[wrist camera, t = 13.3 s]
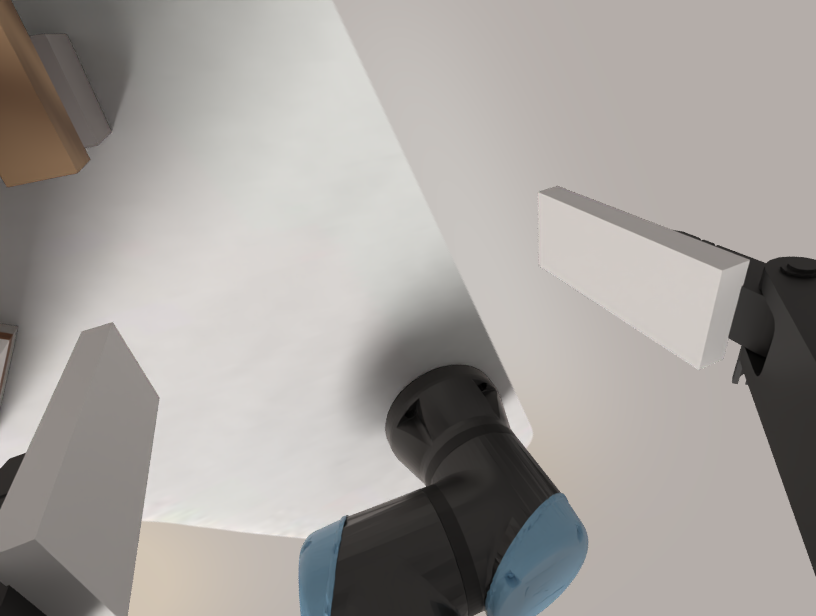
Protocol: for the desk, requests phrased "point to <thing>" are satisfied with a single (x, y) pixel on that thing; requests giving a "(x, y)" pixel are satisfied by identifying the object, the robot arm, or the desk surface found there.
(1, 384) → the tall open-top box
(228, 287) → the desk surface
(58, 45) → the riser block
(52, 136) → the walnut rod
